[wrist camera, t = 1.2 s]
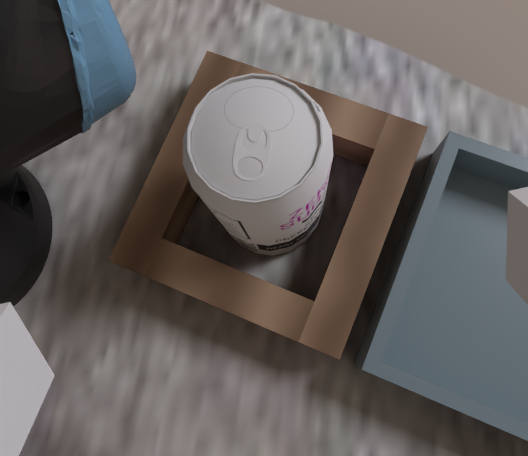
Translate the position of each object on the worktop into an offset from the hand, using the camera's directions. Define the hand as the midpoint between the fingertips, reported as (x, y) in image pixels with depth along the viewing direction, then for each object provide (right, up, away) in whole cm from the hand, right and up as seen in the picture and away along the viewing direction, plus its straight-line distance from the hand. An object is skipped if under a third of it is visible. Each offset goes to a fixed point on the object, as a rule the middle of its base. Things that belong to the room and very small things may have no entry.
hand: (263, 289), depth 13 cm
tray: (+19, -4, +23) cm, 30 cm away
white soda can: (+1, +3, +26) cm, 27 cm away
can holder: (+1, +3, +26) cm, 26 cm away
